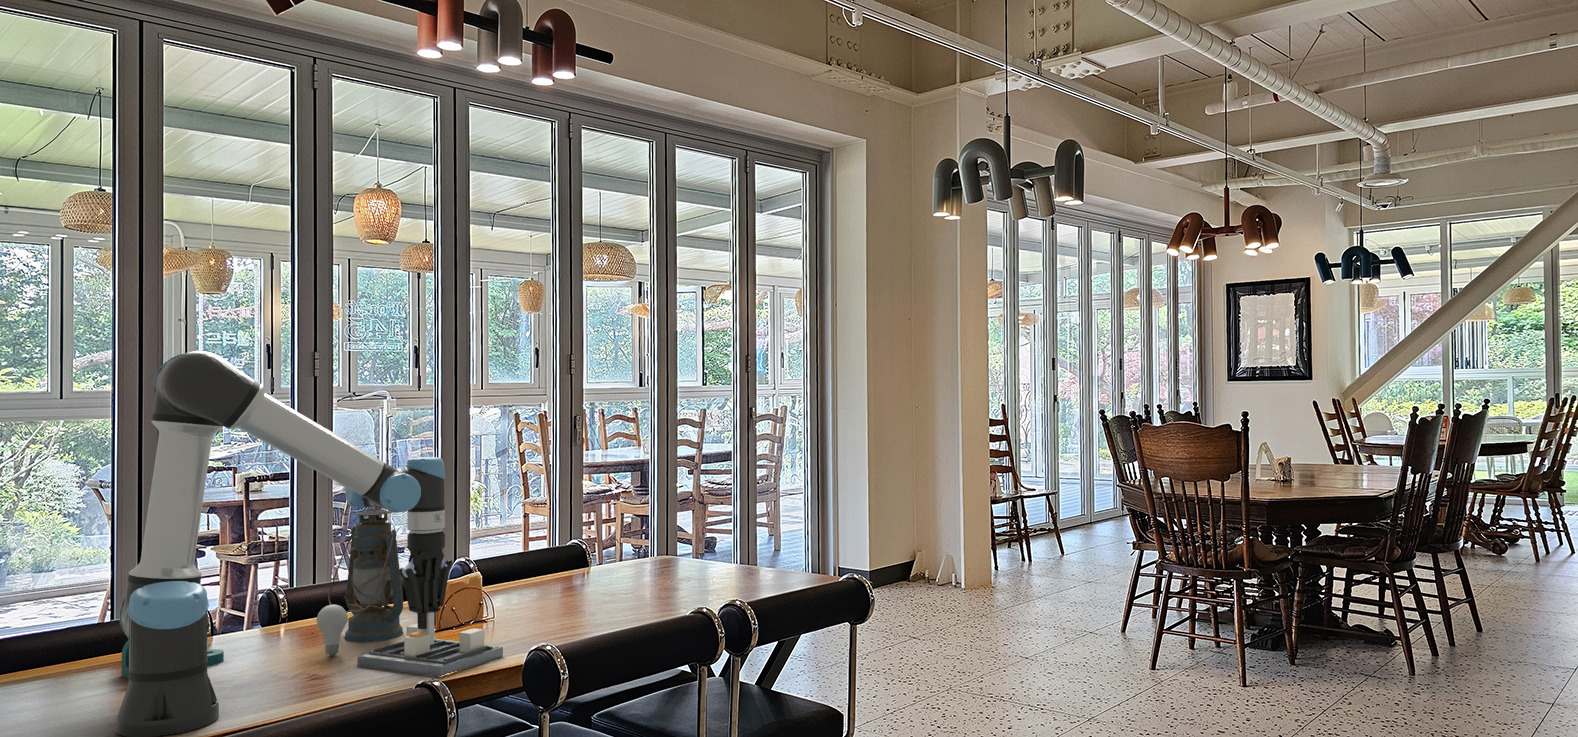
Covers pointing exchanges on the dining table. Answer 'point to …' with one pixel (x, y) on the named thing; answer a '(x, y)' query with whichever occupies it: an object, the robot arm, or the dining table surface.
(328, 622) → the lightbulb
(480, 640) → the block
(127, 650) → the bracket
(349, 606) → the lantern
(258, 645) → the dining table surface
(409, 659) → the panel
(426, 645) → the block
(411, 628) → the block
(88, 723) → the dining table surface
